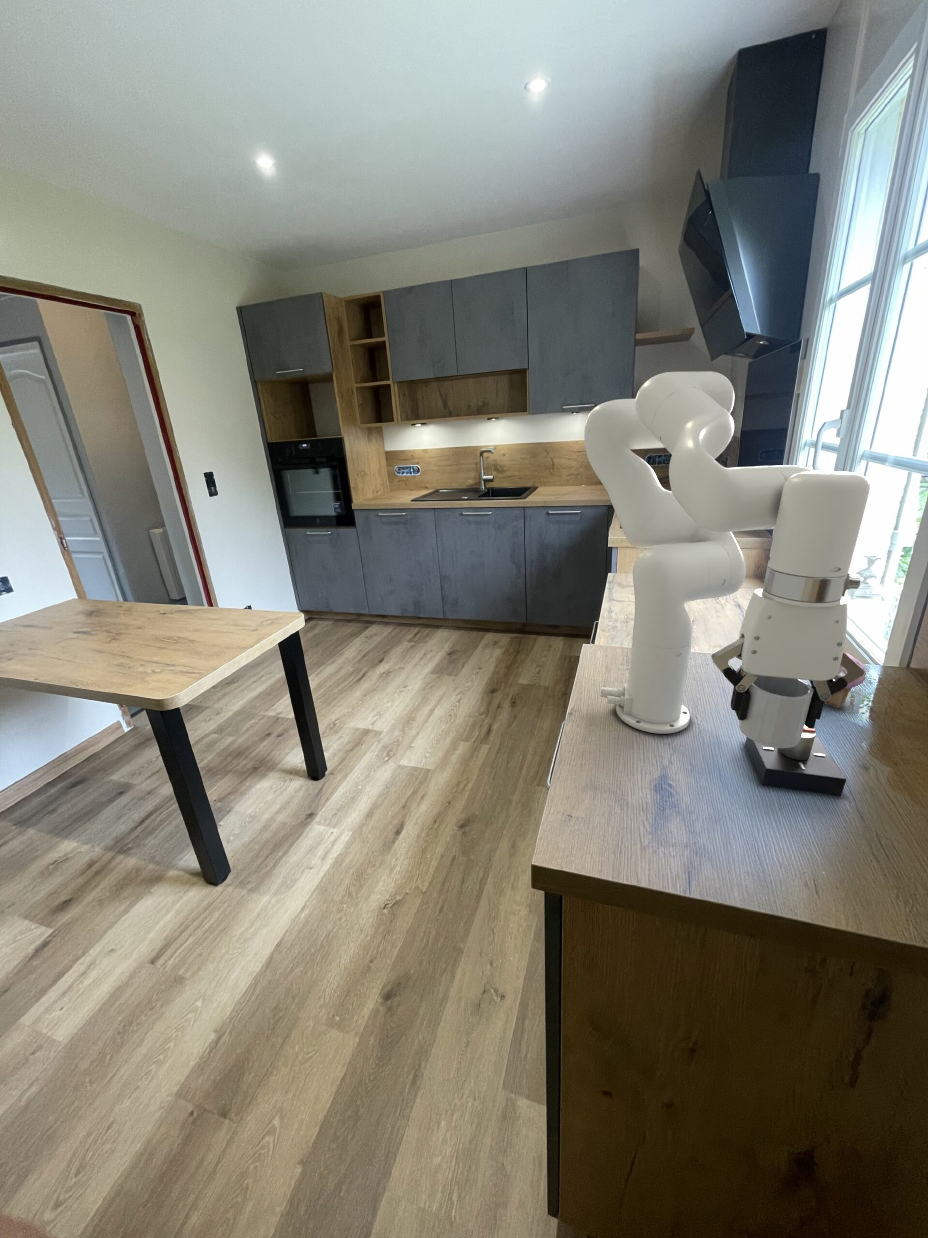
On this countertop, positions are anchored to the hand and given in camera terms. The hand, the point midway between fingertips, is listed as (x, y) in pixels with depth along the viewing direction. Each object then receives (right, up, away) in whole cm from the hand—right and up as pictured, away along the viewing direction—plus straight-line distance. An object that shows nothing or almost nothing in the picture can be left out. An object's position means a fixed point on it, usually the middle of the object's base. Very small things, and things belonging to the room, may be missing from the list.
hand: (772, 717), depth 62 cm
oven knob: (+11, -8, +12) cm, 17 cm away
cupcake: (+29, -3, +30) cm, 42 cm away
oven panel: (+11, -10, +13) cm, 20 cm away
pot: (0, -2, +1) cm, 2 cm away
